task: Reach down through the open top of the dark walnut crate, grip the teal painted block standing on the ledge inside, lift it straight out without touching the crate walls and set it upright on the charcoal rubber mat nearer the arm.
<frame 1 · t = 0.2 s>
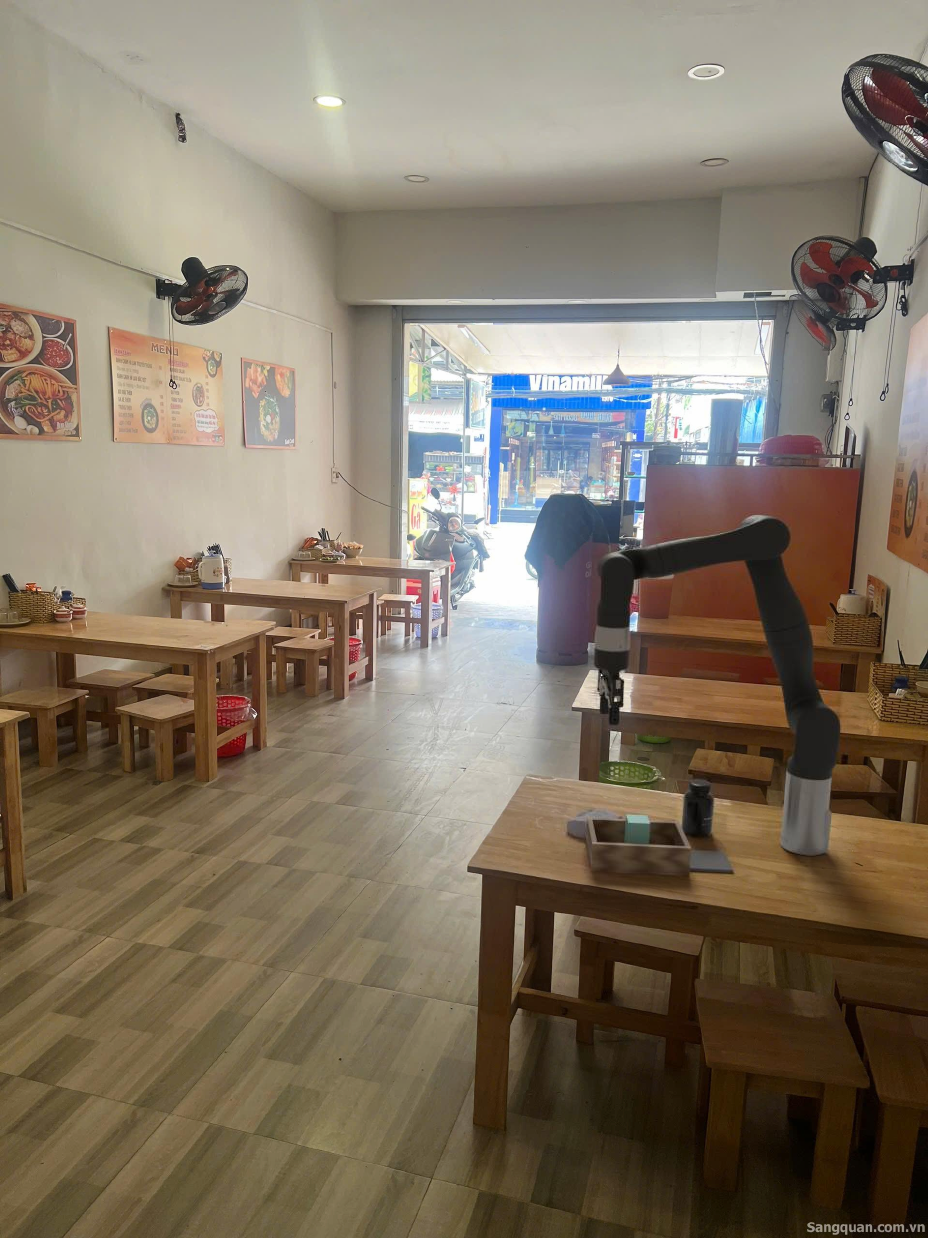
hand: (608, 719, 191), 28 cm above the table, tool pointing down, fingers open, 8 cm apart
supplement bottle: (696, 833, 201), on the table
mat: (706, 862, 186), on the table
stone block: (592, 831, 202), on the table
crate: (635, 859, 187), on the table
block: (636, 850, 186), point 2 cm above the table, touching crate
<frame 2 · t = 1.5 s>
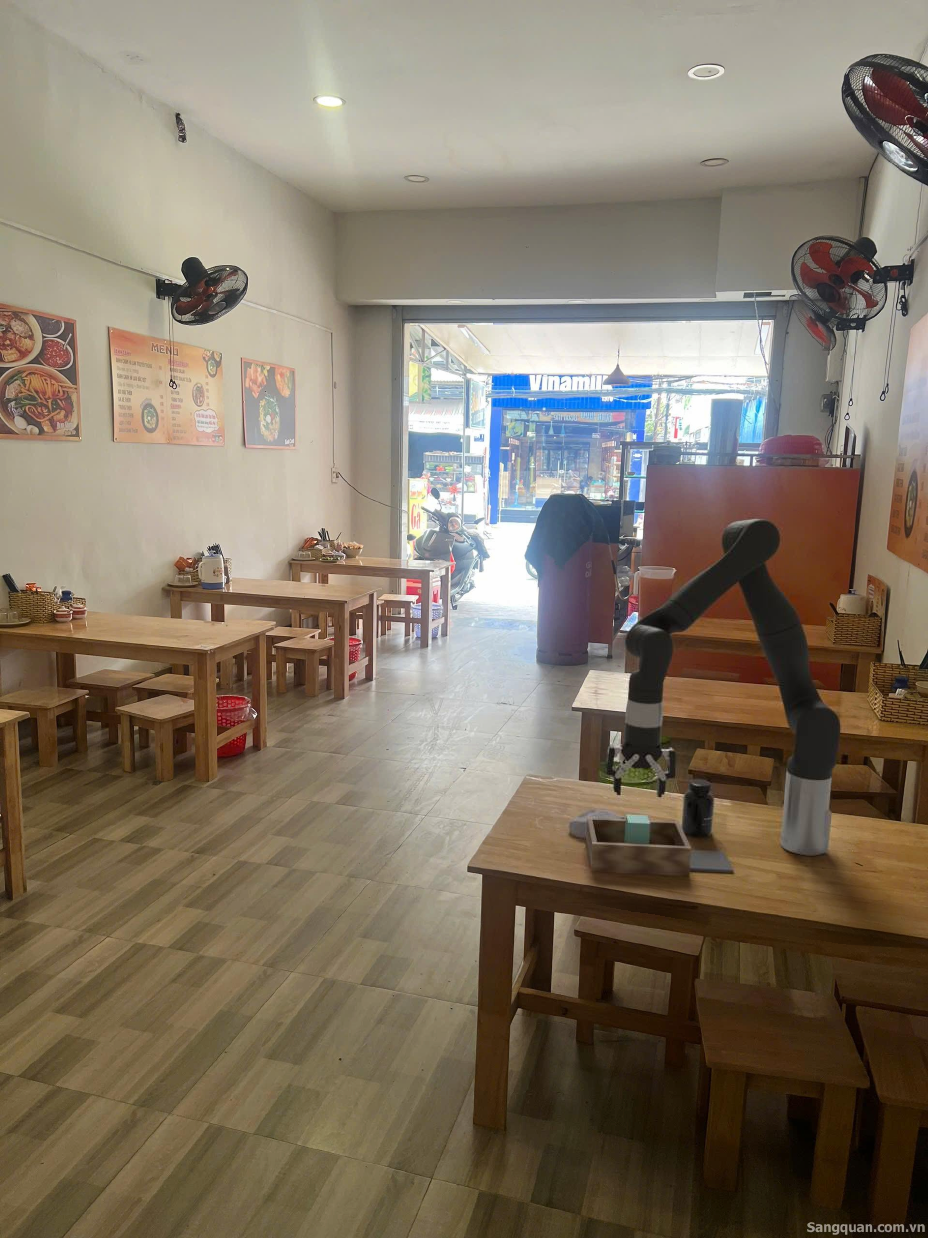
hand: (638, 795, 184), 14 cm above the table, tool pointing down, fingers open, 8 cm apart
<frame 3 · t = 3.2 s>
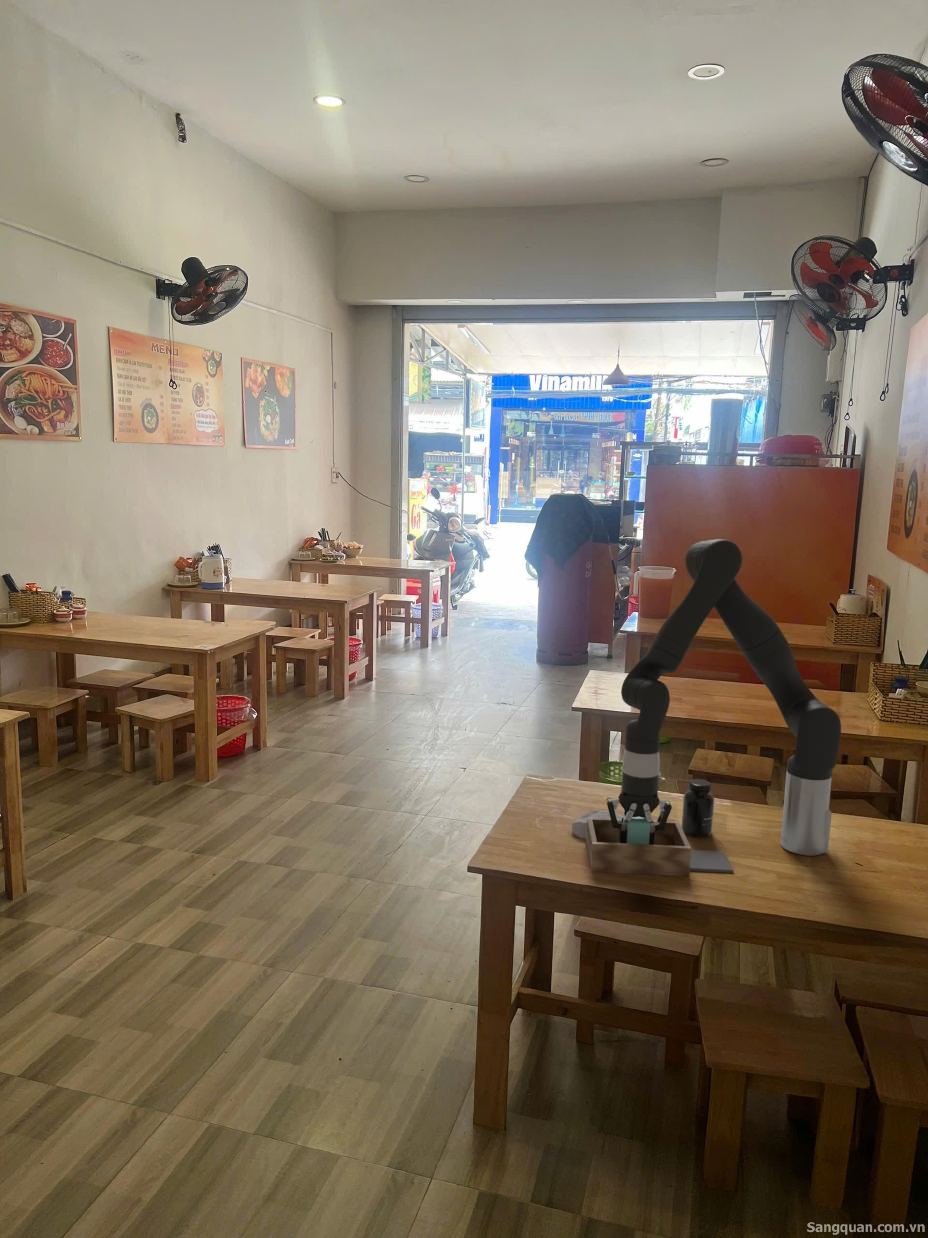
hand: (636, 846, 186), 3 cm above the table, tool pointing down, fingers closed on block, 4 cm apart
block: (636, 850, 186), point 2 cm above the table, touching crate, gripper
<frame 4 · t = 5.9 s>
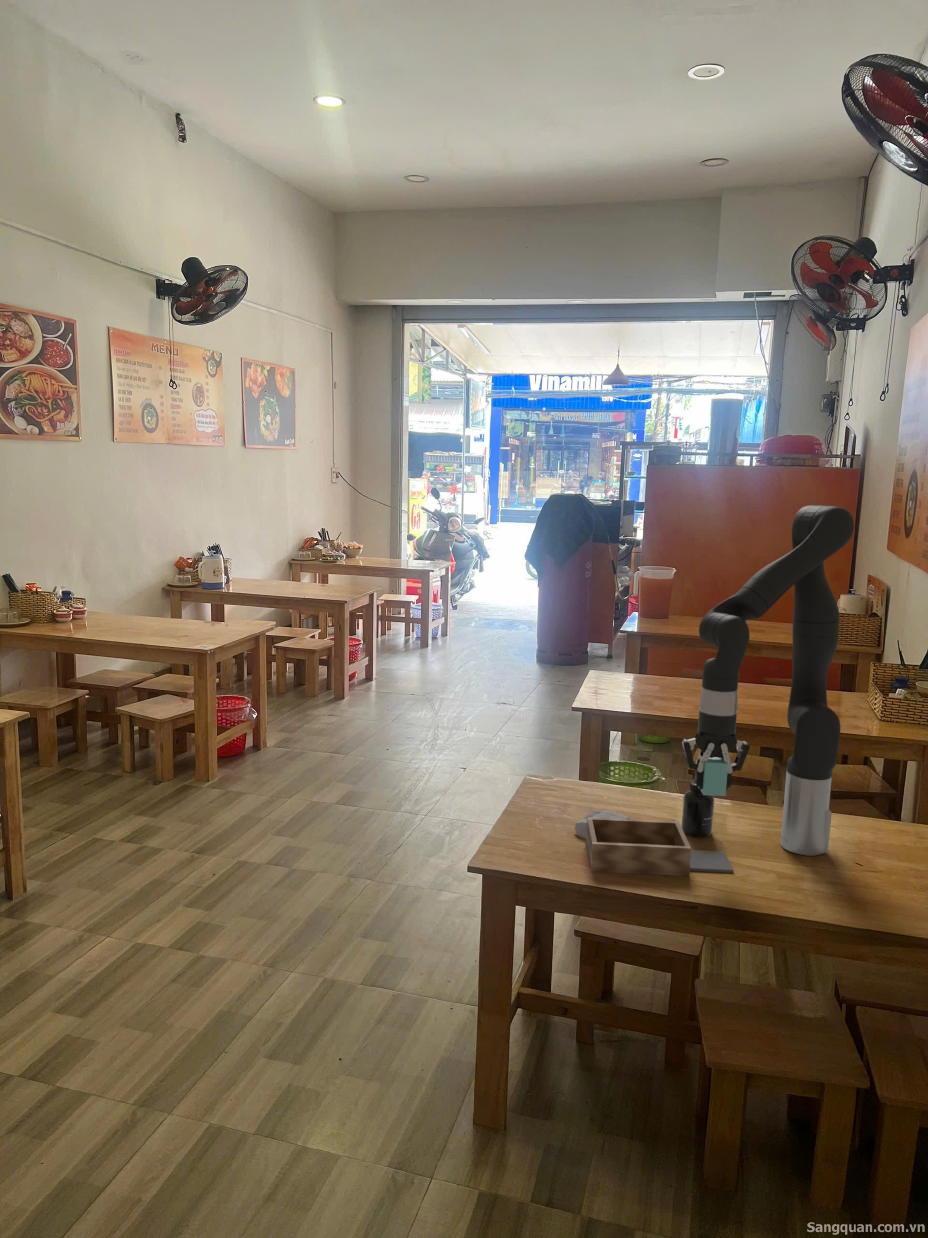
hand: (712, 788, 183), 17 cm above the table, tool pointing down, fingers closed on block, 4 cm apart
block: (712, 791, 183), point 16 cm above the table, touching gripper
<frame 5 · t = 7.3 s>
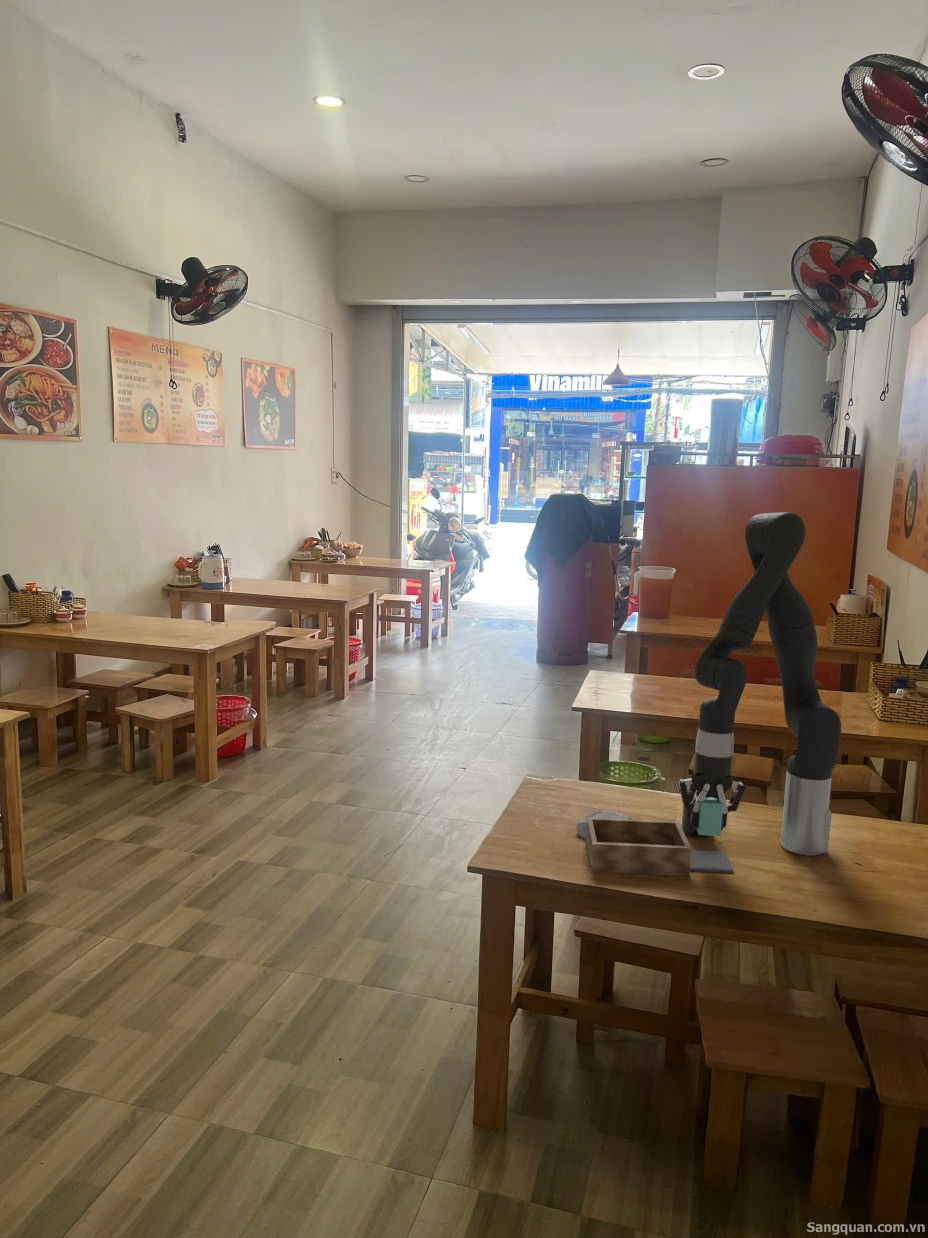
hand: (707, 827, 185), 8 cm above the table, tool pointing down, fingers closed on block, 4 cm apart
block: (707, 831, 185), point 7 cm above the table, touching gripper
when the fingers open (3 cm above the table, at t = 8.7 s): block drops 1 cm, resting on mat.
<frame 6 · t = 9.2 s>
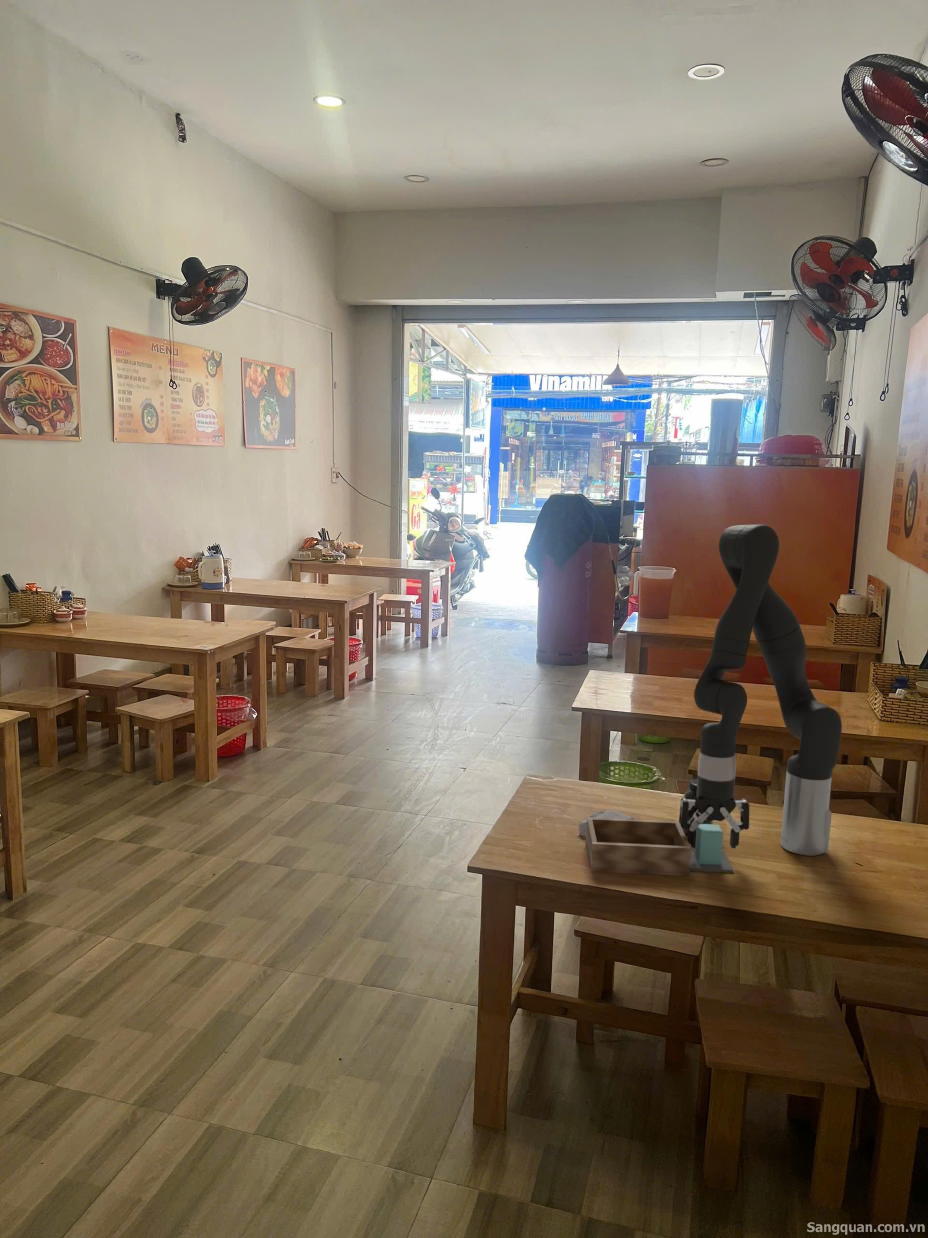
hand: (712, 846, 185), 3 cm above the table, tool pointing down, fingers open, 8 cm apart
block: (707, 859, 186), point 1 cm above the table, touching mat
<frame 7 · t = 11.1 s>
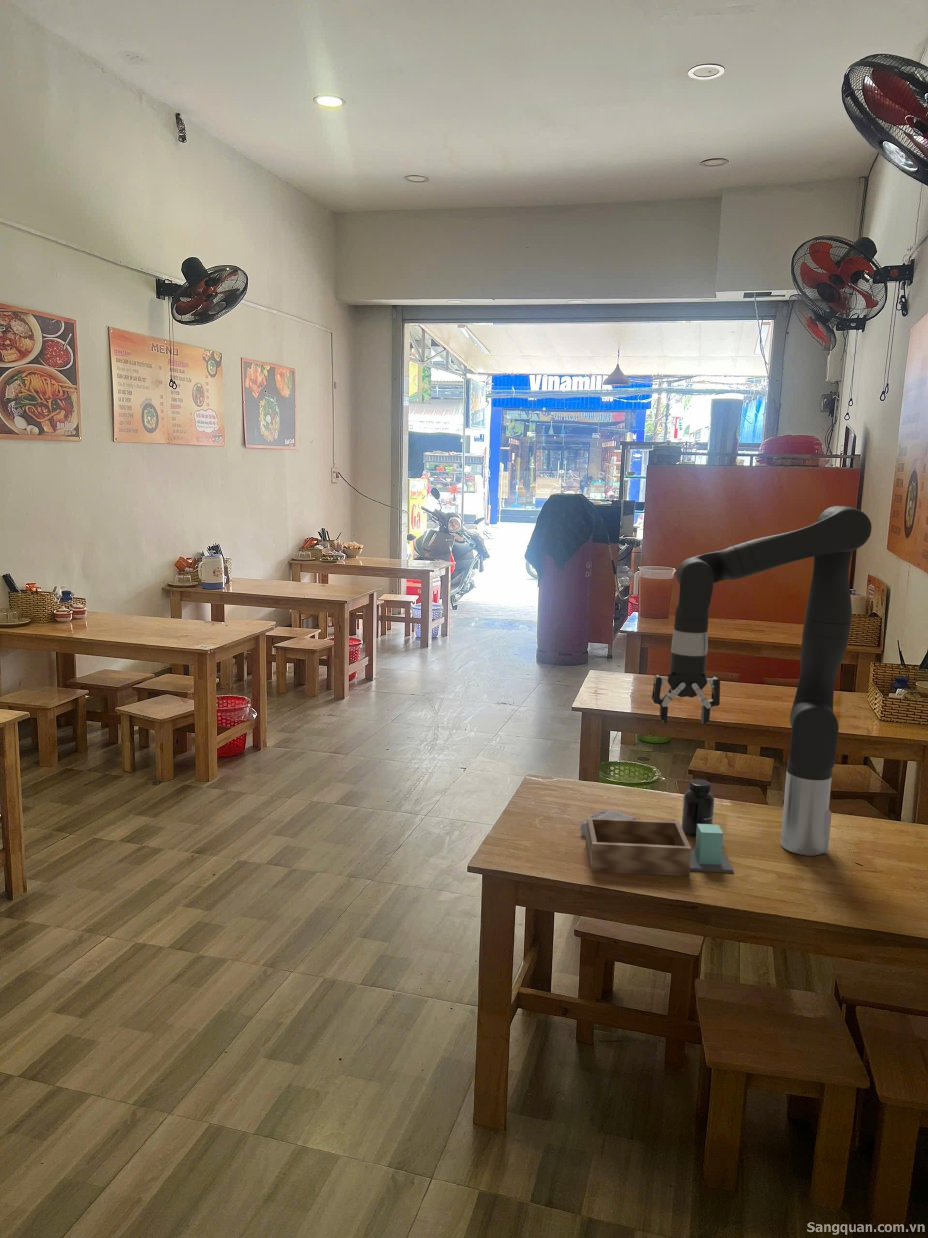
hand: (683, 723, 192), 27 cm above the table, tool pointing down, fingers open, 8 cm apart
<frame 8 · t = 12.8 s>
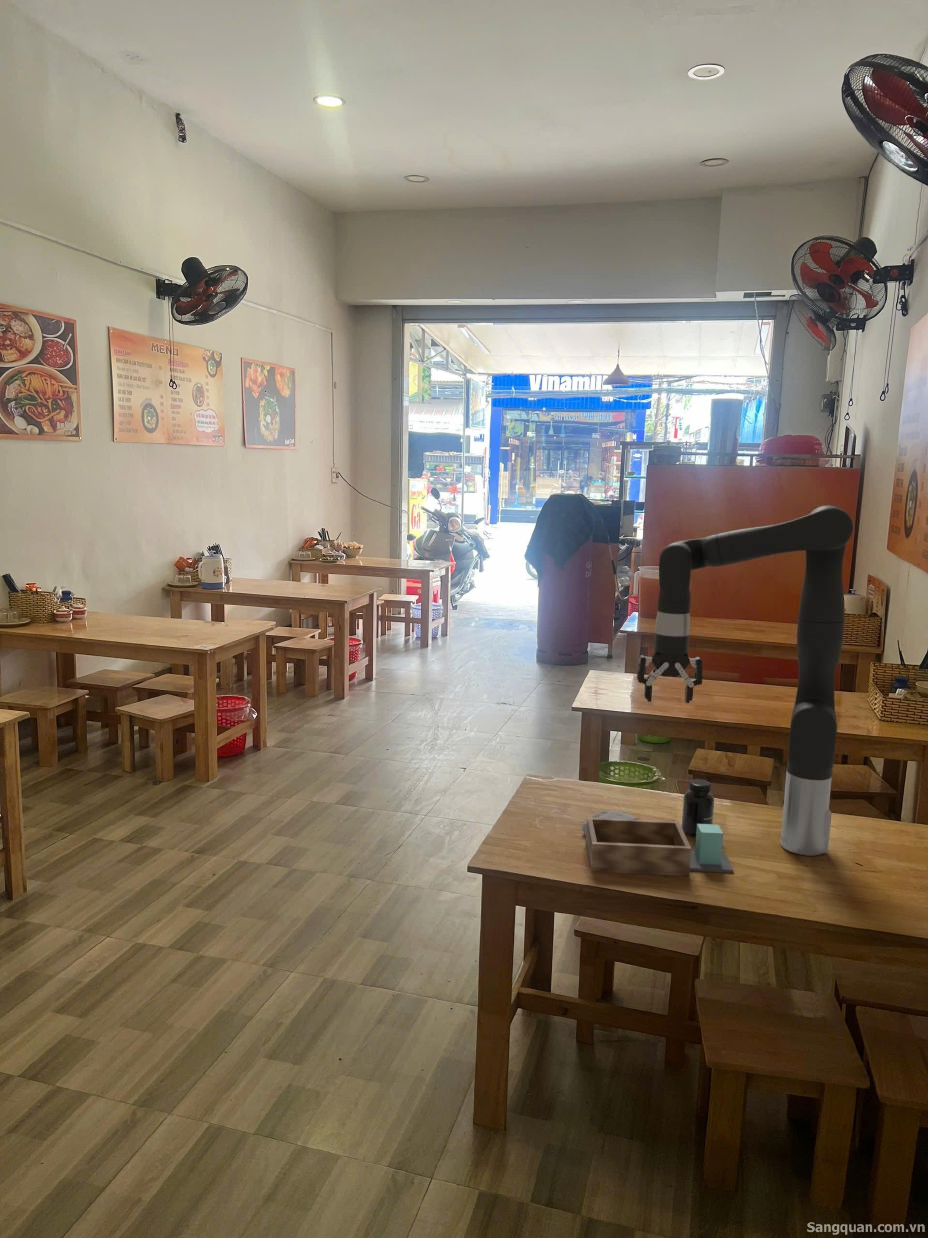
hand: (667, 701, 199), 30 cm above the table, tool pointing down, fingers open, 8 cm apart
at the end: block inside the target area on the mat (0.1 cm from its centre), point 0.6 cm above the mat's base; block tilted 0°; the gripper is holding nothing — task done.
